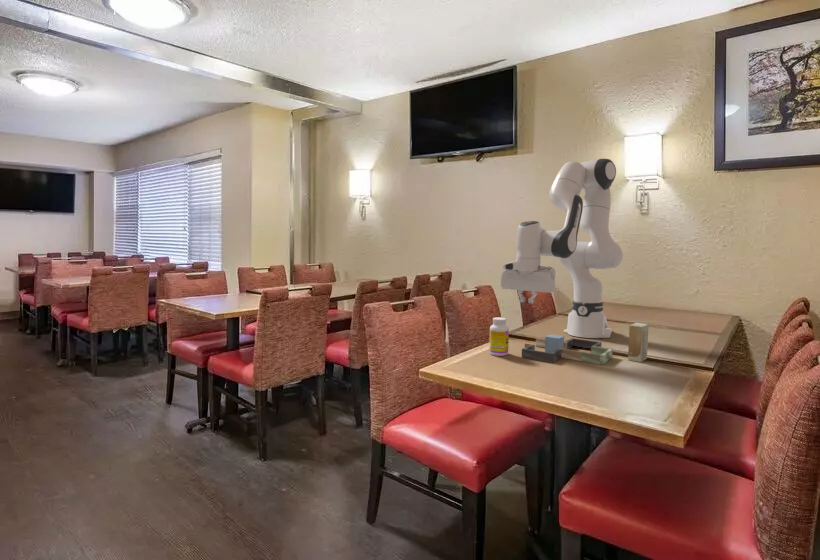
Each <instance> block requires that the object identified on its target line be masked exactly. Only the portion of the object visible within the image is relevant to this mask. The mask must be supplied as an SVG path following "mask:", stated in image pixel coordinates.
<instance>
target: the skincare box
mask: <svg viewBox="0 0 820 560" xmlns="http://www.w3.org/2000/svg"><path fill="white" fill-rule="evenodd" d="M649 326H650V324H649V323H641V322H634V323H632V324H630V325H629V327H628V329H629V330H628V331H629V332H628V348H627V349H628V351H627V352H628V353H627V360H628V361H632V362H636V363H637V362H638V363H641V362H644V361H645V360H647V359H648V347H649V346H648V345H649Z"/></svg>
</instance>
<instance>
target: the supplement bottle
mask: <svg viewBox="0 0 820 560" xmlns="http://www.w3.org/2000/svg"><path fill="white" fill-rule="evenodd" d="M506 324H507V318H505V317H500V316H498V317H497V316H496V317H493V318H492V324H491V325H490V327H489V348H488V349H489V354H490V355H492V356H495V357H496V356H497V357H500V356H501V357H504V356H507V355H508V354H509V338H510V337H509V333H510V329H509V326H507V325H506Z"/></svg>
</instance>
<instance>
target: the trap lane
mask: <svg viewBox="0 0 820 560" xmlns="http://www.w3.org/2000/svg"><path fill="white" fill-rule="evenodd" d="M573 346H577V347H576V348H578V347H585V348H591V349H590V352H587V351H580V350H575V349H574V350H573V349H571V348H574V347H573ZM536 347H538V348H543V349H545V338H538V337H537V338H535V343H534V344H533V343H527V342H525V343H524V347H523V348H522V349H521V358H522V359H523V358H524V359H528V360H534V361H539V362H540V361H541V362H546V363H550V364H551V363H552V364H554V363H555V362H556V361H559V360H560V359H567V360H571V361H572V360H573V361H578V362H585V363H590V364H597V365H602V366H603V365H604V364H606V363H607V362H608V361H610V360H611V359H613V352H614V351H613V348H607V347H602V341H596V340H589V339H581V338H574V337H570V338H569V339H567V340H564V349H561V348H559V349H557V350H556V351H554V352H552V353H548V352H545V351H543V350H542V351H541V350H536ZM585 348H584V349H585Z"/></svg>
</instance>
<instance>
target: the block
mask: <svg viewBox="0 0 820 560" xmlns="http://www.w3.org/2000/svg"><path fill="white" fill-rule="evenodd" d="M544 339H545V348H544V352H548V353H552V352H554V351H556V350H557V349H559V348H561V349H564V342H565V336H564V335H559V334H553V333H551V334H548V335H546V336H545V337H544Z"/></svg>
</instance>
